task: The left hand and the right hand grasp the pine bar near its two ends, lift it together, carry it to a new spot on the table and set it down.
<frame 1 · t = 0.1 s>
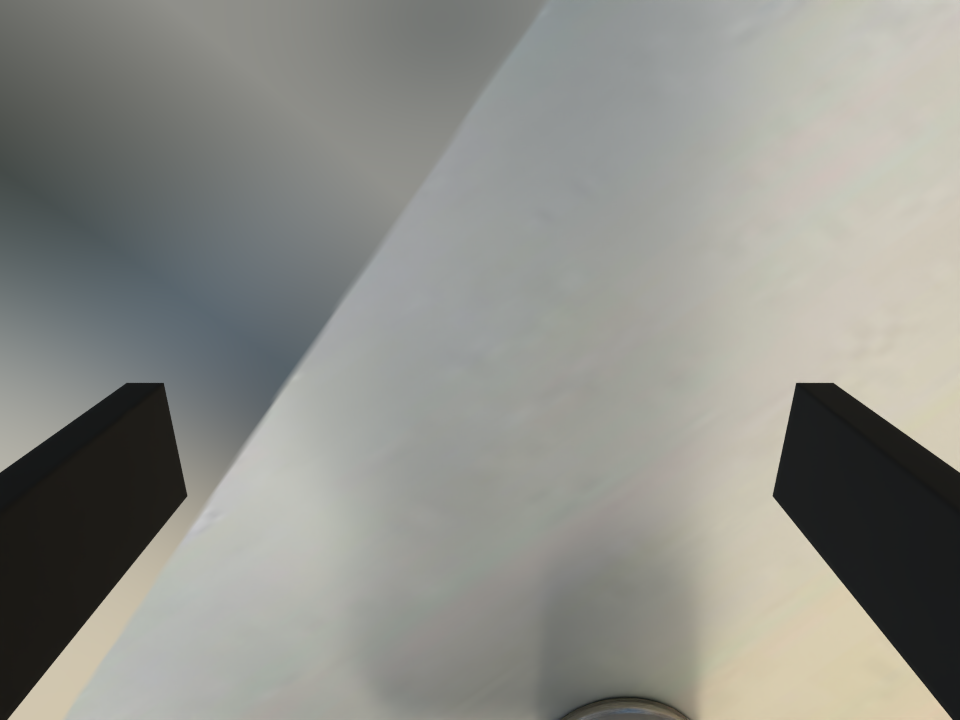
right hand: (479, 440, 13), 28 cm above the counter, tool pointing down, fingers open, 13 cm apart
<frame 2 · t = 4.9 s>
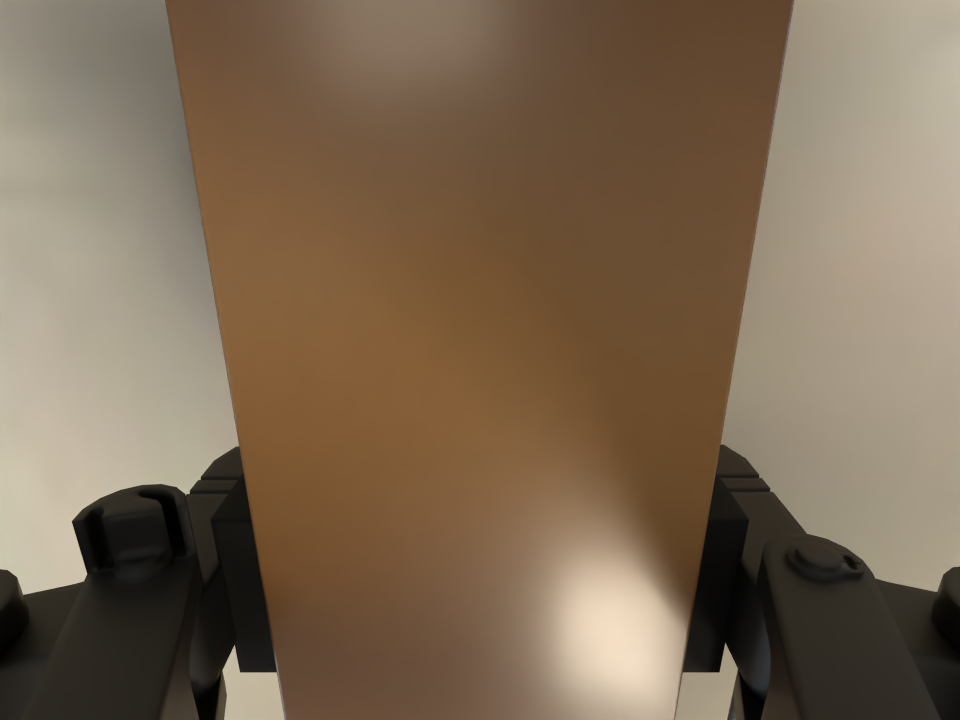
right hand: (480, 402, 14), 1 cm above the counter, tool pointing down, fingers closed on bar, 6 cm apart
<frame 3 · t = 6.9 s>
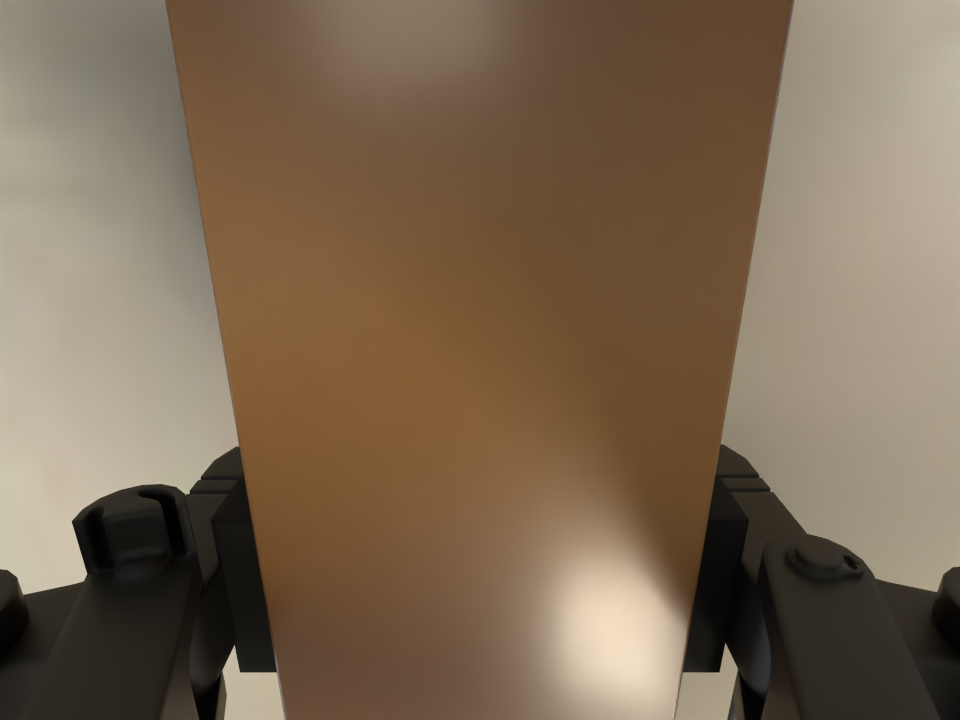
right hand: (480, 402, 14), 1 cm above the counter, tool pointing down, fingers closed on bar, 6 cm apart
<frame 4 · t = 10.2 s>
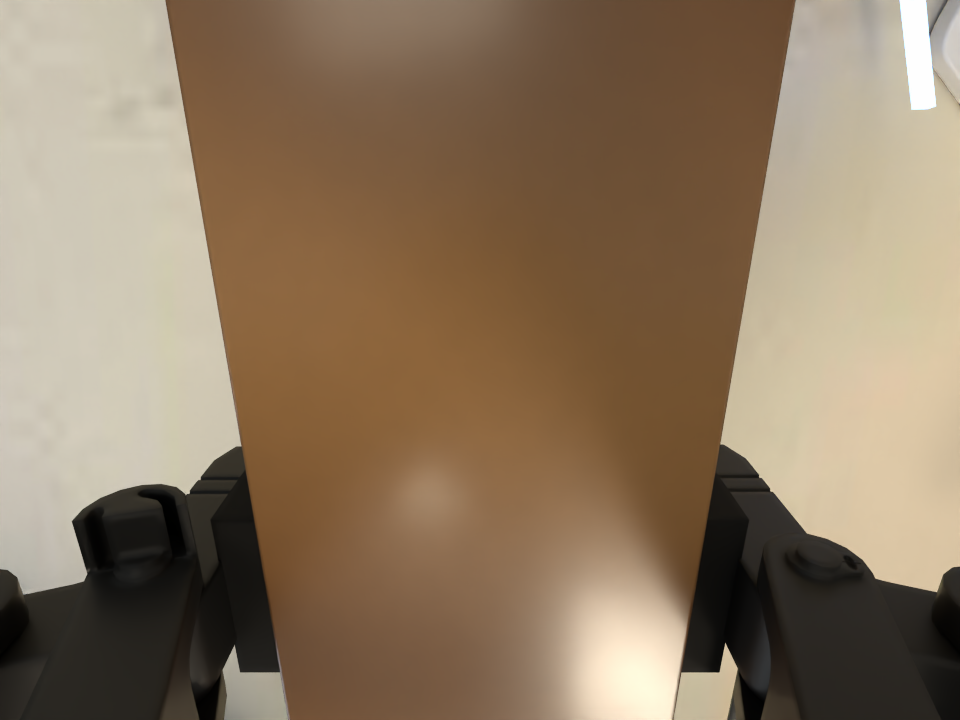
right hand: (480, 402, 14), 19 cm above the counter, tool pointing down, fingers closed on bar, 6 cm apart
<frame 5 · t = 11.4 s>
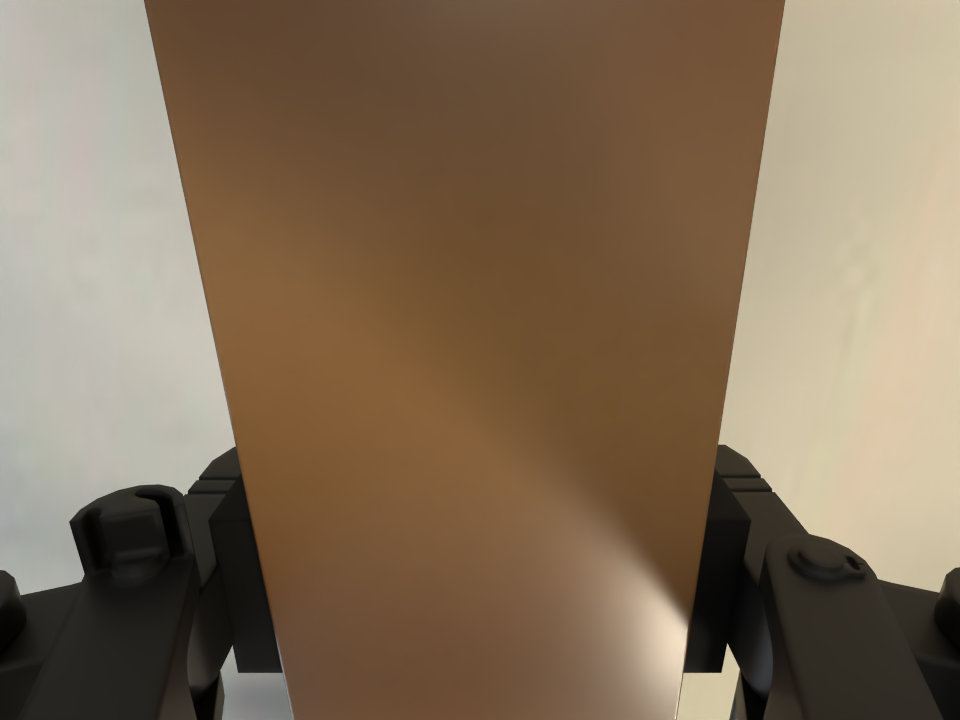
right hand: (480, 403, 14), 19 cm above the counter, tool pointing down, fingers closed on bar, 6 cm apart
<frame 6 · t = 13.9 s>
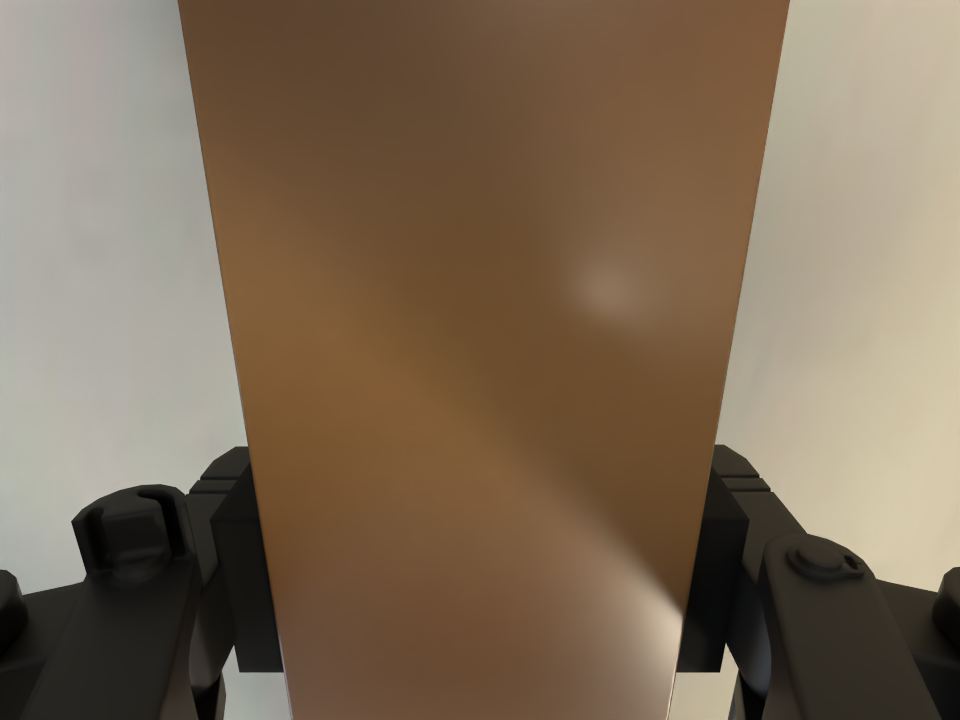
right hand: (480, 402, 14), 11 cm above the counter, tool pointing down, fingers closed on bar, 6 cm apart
when the right hand's fingers open (2 cm above the counter, at t = 15.8 s): bar stays where it is, on the counter.
when the left hand's fingers open (4 cm above the counter, at t = 16.0 s): bar stays where it is, on the counter.
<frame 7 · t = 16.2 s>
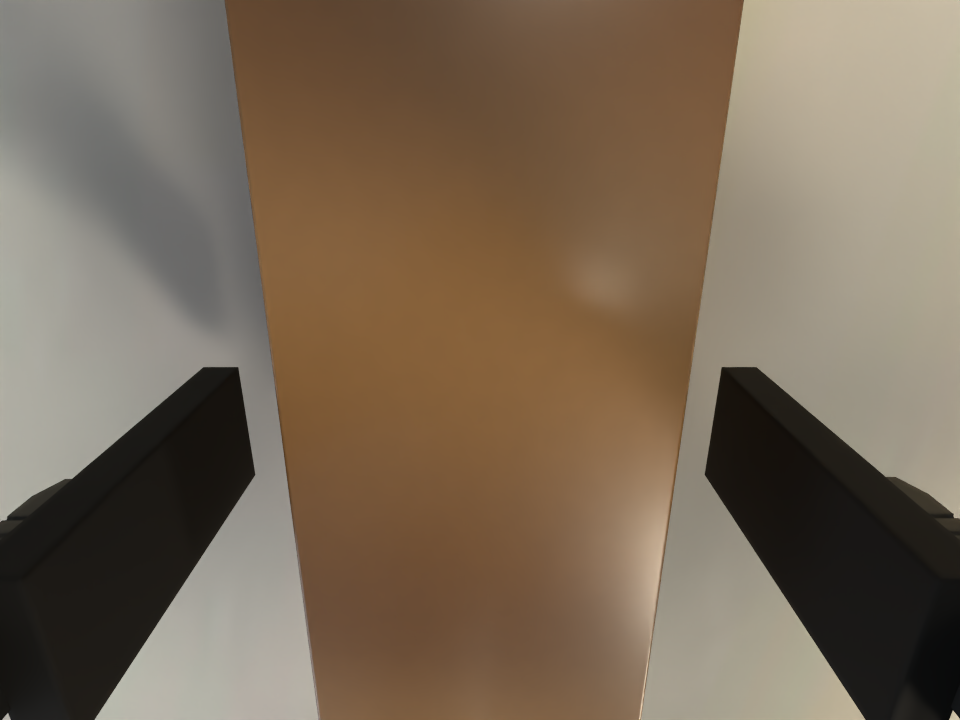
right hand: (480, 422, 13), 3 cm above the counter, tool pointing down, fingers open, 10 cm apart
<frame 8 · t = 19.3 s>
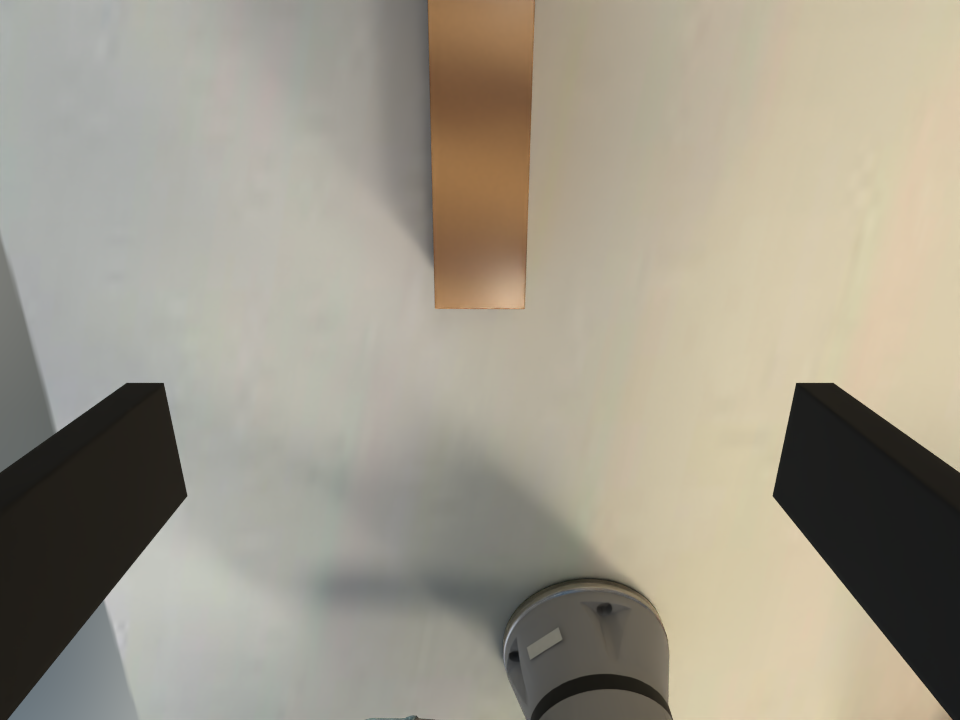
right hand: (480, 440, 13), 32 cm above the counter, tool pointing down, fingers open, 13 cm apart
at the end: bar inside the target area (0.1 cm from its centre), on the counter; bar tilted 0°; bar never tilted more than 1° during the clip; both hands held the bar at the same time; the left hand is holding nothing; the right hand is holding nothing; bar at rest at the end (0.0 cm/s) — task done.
